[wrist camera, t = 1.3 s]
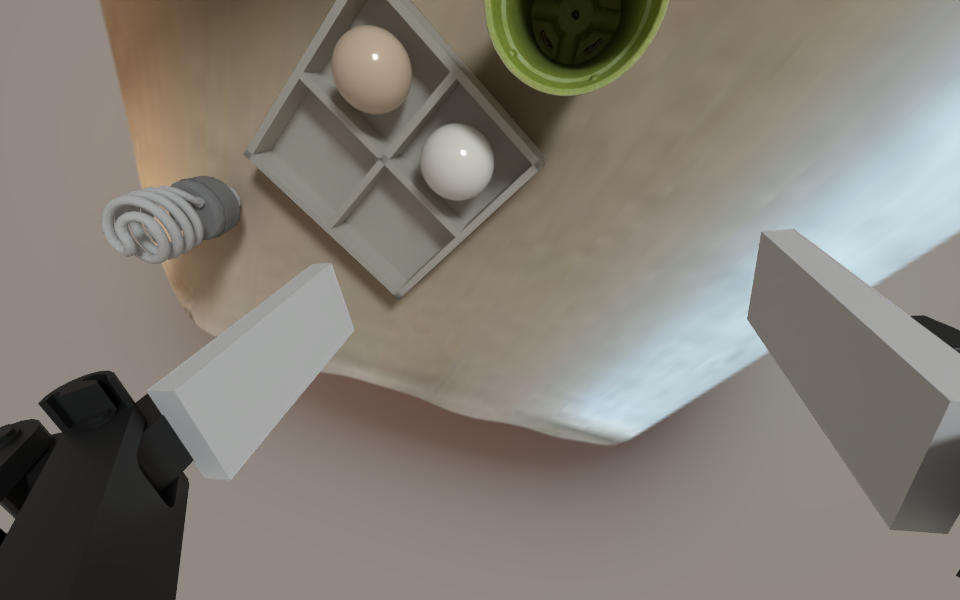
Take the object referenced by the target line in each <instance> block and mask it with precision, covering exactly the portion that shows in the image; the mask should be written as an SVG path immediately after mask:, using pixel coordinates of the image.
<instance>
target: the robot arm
mask: <svg viewBox="0 0 960 600" xmlns="http://www.w3.org/2000/svg"><path fill="white" fill-rule="evenodd" d="M747 319H748V321H749V322H750V324H751V325H752V327H753V328H754V330H755V331H756V333H757V334H758V336H759V337H760V339H761V340H762V342H763V343H764V344H765V346H766V347H767V349H768V350H769V352H770V353H771V355H772V356H773V358H774V359H775V361H776V362H777V364H778V365H779V367H780V368H781V369H782V371H783V373H784V374H785V375H786V377H787V378H788V380H789V381H790V383H791V384H792V386H793V387H794V389H795V390H796V392H797V393H798V395H799V396H800V398H801V399H802V401H803V402H804V403H805V405H806V406H807V408H808V409H809V411H810V412H811V414H812V415H813V417H814V418H815V420H816V421H817V423H818V424H819V425H820V427H821V429H822V430H823V432H824V433H825V435H826V436H827V437H828V439H829V440H830V442H831V443H832V445H833V446H834V448H835V449H836V451H837V452H838V454H839V455H840V457H841V458H842V460H843V461H844V463H845V464H846V465H847V467H848V468H849V470H850V471H851V473H852V474H853V476H854V477H855V478H856V480H857V482H858V483H859V485H860V486H861V488H862V489H863V491H864V492H865V493H866V495H867V496H868V498H869V499H870V501H871V502H872V504H873V505H874V507H875V508H876V510H877V511H878V512H879V514H880V516H881V517H882V518H883V520H884V522H885V523H886V525H887V526H888V527H889V529H890V530H904V531H916V532H930V533H943V534H948V532H949V531H950V529H951V527H952V526H953V524H954V522H955V520H956V519H957V517H958V515H959V514H960V331H959V330H958V329H955V328H953V327H950V326H948V325H946V324H943V323H940V322H938V321H936V320H934V319H931V318H929V317H926V316H909V315H908V314H906V313H905V312H904V311H902V310H901V309H899V308H898V307H897V306H896V305H894V304H893V303H892V302H890V301H889V300H888V299H886V298H885V297H883V296H882V295H881V294H880V293H878V292H877V291H876V290H874V289H873V288H872V287H870V286H869V285H868V284H866V283H865V282H864V281H862V280H861V279H860V278H858V277H857V276H856V275H854V274H853V273H852V272H850V271H849V270H848V269H846V268H845V267H844V266H842V265H841V264H840V263H838V262H837V261H836V260H835V259H833V258H832V257H831V256H829V255H828V254H827V253H825V252H824V251H823V250H821V249H820V248H819V247H817V246H816V245H815V244H813V243H812V242H811V241H809V240H808V239H807V238H805V237H804V236H803V235H801V234H800V233H799V232H797V231H796V230H795V229H790V230H776V231H763V232H761V238H760V244H759V250H758V256H757V262H756V268H755V274H754V281H753V287H752V293H751V299H750V305H749V311H748V317H747ZM353 331H354V327H353V324H352V321H351V318H350V316H349V313H348V310H347V307H346V304H345V301H344V298H343V295H342V292H341V290H340V287H339V284H338V281H337V278H336V275H335V272H334V269H333V266H332V263H323V264H312V265H310V266H309V267H308V268H306V269H305V270H304V271H303V272H301V273H300V274H299V275H297V276H296V277H295V278H293V279H292V280H291V281H289V282H288V283H287V284H285V285H284V286H283V287H282V288H280V289H279V290H278V291H276V292H275V293H274V294H272V295H271V296H270V297H268V298H267V299H266V300H265V301H263V302H262V303H261V304H259V305H258V306H257V307H255V308H254V309H253V310H251V311H250V312H249V313H248V314H246V315H245V316H244V317H242V318H241V319H240V320H238V321H237V322H236V323H234V324H233V325H232V326H230V327H229V328H228V329H227V330H225V331H224V332H223V333H221V334H220V335H219V336H217V337H216V338H215V339H213V340H212V341H211V342H210V343H208V344H207V345H206V346H204V347H203V348H202V349H200V350H199V351H198V352H197V353H195V354H194V355H193V356H191V357H190V358H189V359H187V360H186V361H185V362H183V363H182V364H181V365H180V366H178V367H177V368H176V369H174V370H173V371H172V372H170V373H169V374H168V375H166V376H165V377H164V378H162V379H161V380H160V381H158V382H157V383H156V384H155V385H153V386H152V387H151V388H149V389H148V390H147V393H148V394H146V395H145V396H144V397H143V398H141V399H140V400H139V401H137V402H136V403H135V402H134V401H133V399H132V398H131V396H130V395H129V394H128V392H127V391H126V389H125V388H124V386H123V385H122V383H121V382H120V381H119V379H118V378H117V376H116V375H115V374H114V372H111V371H99V372H95V373H91V374H88V375H85V376H82V377H80V378H77V379H75V380H72V381H70V382H68V383H66V384H65V385H63V386H60V387H59V388H57V389H56V390H54V391H52V392H51V393H49V394H48V395H47V396H45V397H44V398H43V399H42V400H41V401H40V402H39V405H40V406H41V407H42V409H43V410H44V411H45V412H46V413H47V415H48V416H49V417H50V418H51V419H52V420H53V422H54V423H55V424H56V425H57V427H59V429H60V430H61V431H62V433H57V434H53V435H51V434H50V433H49V432H48V431H47V430H46V428H45V427H44V426H43V425H42V424H41V423H40V421H39V420H34V419H30V420H24V421H20V422H17V423H14V424H11V425H10V424H8V425H5V426H2V427H0V505H1V506H2V507H3V508H4V509H6V510H7V511H8V512H9V513H10V514H11V515H12V516H13V517H14V518H15V521H14V523H13V524H12V526H11V528H10V530H9V532H8V534H7V533H5V532H4V531H3V530H2V529H0V600H175V599H176V591H177V582H178V574H179V565H180V557H181V548H182V540H183V532H184V531H183V530H184V523H185V514H186V505H187V498H188V489H189V482H188V478H187V477H186V475H185V474H184V472H183V471H184V470H185V469H186V468H187V467H188V465H190V463H191V462H192V461H193V462H194V463H195V465H196V466H197V468H198V469H199V470H200V472H201V474H202V475H203V477H204V478H207V479H220V480H231V479H232V478H233V477H234V475H235V474H236V473H237V472H238V471H239V469H240V468H241V467H242V466H243V465H244V463H245V462H246V461H247V460H248V458H249V457H250V456H251V455H252V454H253V452H254V451H255V450H256V449H257V448H258V446H259V445H260V444H261V443H262V442H263V440H264V439H265V438H266V437H267V435H268V434H269V433H270V432H271V430H272V429H273V428H274V427H275V426H276V424H277V423H278V422H279V421H280V420H281V419H282V417H283V416H284V415H285V414H286V412H287V411H288V410H289V409H290V407H291V406H292V405H293V404H294V403H295V402H296V400H297V399H298V397H300V395H301V394H302V393H303V392H304V390H305V389H306V388H307V387H308V386H309V384H310V383H311V382H312V381H313V379H315V377H316V376H317V375H318V374H319V372H320V371H321V370H322V369H323V368H324V366H325V365H326V364H327V363H328V362H329V360H330V359H331V358H332V357H333V356H334V354H335V353H336V352H337V351H338V349H339V348H340V347H341V346H342V345H343V343H344V342H345V341H346V340H347V339H348V337H349V336H350V335H351V334H352V333H353ZM956 576H958V577H960V570H959V572H958V573H957V575H956Z"/></svg>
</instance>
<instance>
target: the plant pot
mask: <svg viewBox="0 0 960 600" xmlns="http://www.w3.org/2000/svg"><path fill="white" fill-rule="evenodd" d="M668 3H669V0H484V10H485V17H486V23H487V28H488V32H489V35H490V38H491V41H492V43H493V45H494V48H495V50H496V52H497V54H498V55H499V57H500V59H501V60H502V62H503V63H504V65H505V66H506V67H507V68H508V70H509V71H510V72H511V73H512V74H513V75H514V76H515V77H517V78H518V79H519V80H520V81H522V82H523V83H525V84H526V85H528V86H529V87H531V88H533V89H535V90H538V91H540V92H543V93H547V94H551V95H558V96H577V95H582V94H586V93H590V92H593V91H595V90H598V89H600V88H602V87H604V86H606V85H608V84H610V83H612V82H613V81H615V80H616V79H618V78H619V77H620V76H622V75H623V74H624V73H625V72H626V71H628V70H629V69H630V68H631V67H632V66H633V65H634V64H635V63H636V62H637V61H638V60H639V58H640V57H641V56H642V55H643V53H644V52H645V51H646V49H647V48H648V46H649V45H650V43H651V42H652V40H653V39H654V37H655V35H656V33H657V31H658V29H659V27H660V25H661V23H662V21H663V18H664V15H665V13H666V10H667V6H668ZM575 10H577V11H578V13H579V17H578V18H577V19H573V18H572V12H573V11H575ZM542 30H544V31H545V33H546V36H547V38H548V40H549V41H550V43H551V44H552V46H553V48H548V47H547V46H546V44H545V42H544V41H543V39H542V37H541V31H542ZM599 39H601V42H600V44H599V45H598V46H597V48H596V49H594V50H593V51H592V52H590V53H589V54H584V53H583V51H584V49H587V48H588V47H590V46H591V45H593V44H594V43H595V42H596V41H598V40H599Z"/></svg>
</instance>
